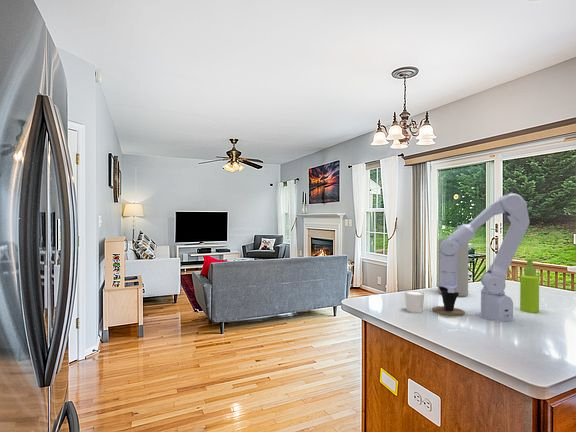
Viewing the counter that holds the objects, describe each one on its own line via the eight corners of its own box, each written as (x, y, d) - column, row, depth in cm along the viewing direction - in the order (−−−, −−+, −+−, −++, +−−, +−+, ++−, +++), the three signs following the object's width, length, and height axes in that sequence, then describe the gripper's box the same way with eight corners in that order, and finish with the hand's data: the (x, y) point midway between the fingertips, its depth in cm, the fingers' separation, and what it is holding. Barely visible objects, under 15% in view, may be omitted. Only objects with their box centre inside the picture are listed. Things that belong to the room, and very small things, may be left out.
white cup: (427, 314, 124) (427, 295, 124) (408, 314, 124) (408, 294, 124) (420, 309, 131) (420, 291, 131) (402, 308, 131) (402, 290, 131)
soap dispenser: (545, 313, 126) (545, 259, 126) (524, 312, 127) (524, 259, 127) (537, 309, 132) (537, 257, 131) (517, 308, 133) (517, 257, 133)
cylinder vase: (474, 295, 153) (474, 240, 153) (453, 298, 149) (454, 241, 149) (451, 290, 165) (452, 238, 165) (432, 292, 160) (432, 239, 160)
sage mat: (474, 316, 122) (474, 315, 122) (446, 318, 118) (446, 317, 118) (449, 307, 133) (449, 306, 133) (423, 309, 130) (423, 308, 130)
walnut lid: (472, 314, 122) (472, 305, 122) (447, 317, 119) (447, 308, 119) (449, 307, 132) (449, 298, 133) (425, 309, 129) (425, 300, 129)
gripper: (434, 268, 134) (434, 302, 134) (438, 274, 120) (438, 312, 120) (454, 269, 132) (454, 304, 132) (460, 275, 118) (460, 314, 118)
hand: (448, 308), depth 126 cm, fingers open, 6 cm apart
